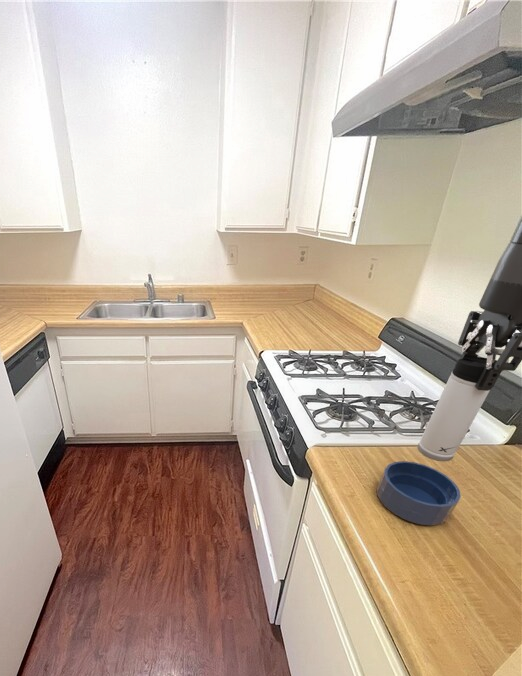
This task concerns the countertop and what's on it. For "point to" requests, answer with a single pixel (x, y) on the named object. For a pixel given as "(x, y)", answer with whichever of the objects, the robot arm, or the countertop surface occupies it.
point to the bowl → (417, 493)
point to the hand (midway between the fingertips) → (471, 380)
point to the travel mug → (454, 410)
